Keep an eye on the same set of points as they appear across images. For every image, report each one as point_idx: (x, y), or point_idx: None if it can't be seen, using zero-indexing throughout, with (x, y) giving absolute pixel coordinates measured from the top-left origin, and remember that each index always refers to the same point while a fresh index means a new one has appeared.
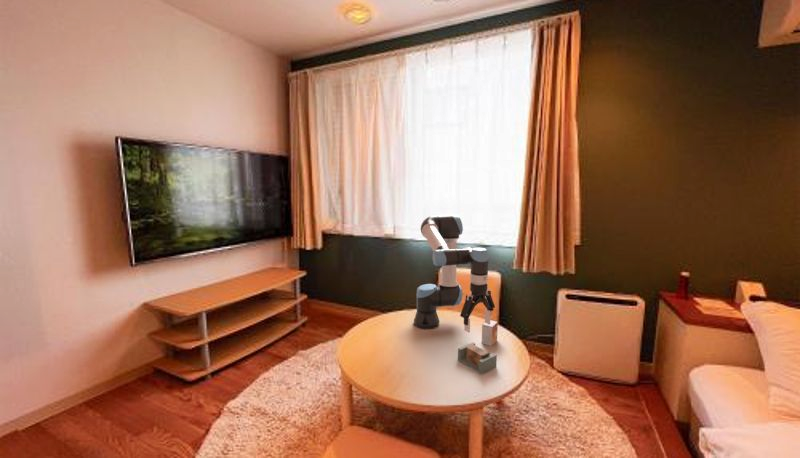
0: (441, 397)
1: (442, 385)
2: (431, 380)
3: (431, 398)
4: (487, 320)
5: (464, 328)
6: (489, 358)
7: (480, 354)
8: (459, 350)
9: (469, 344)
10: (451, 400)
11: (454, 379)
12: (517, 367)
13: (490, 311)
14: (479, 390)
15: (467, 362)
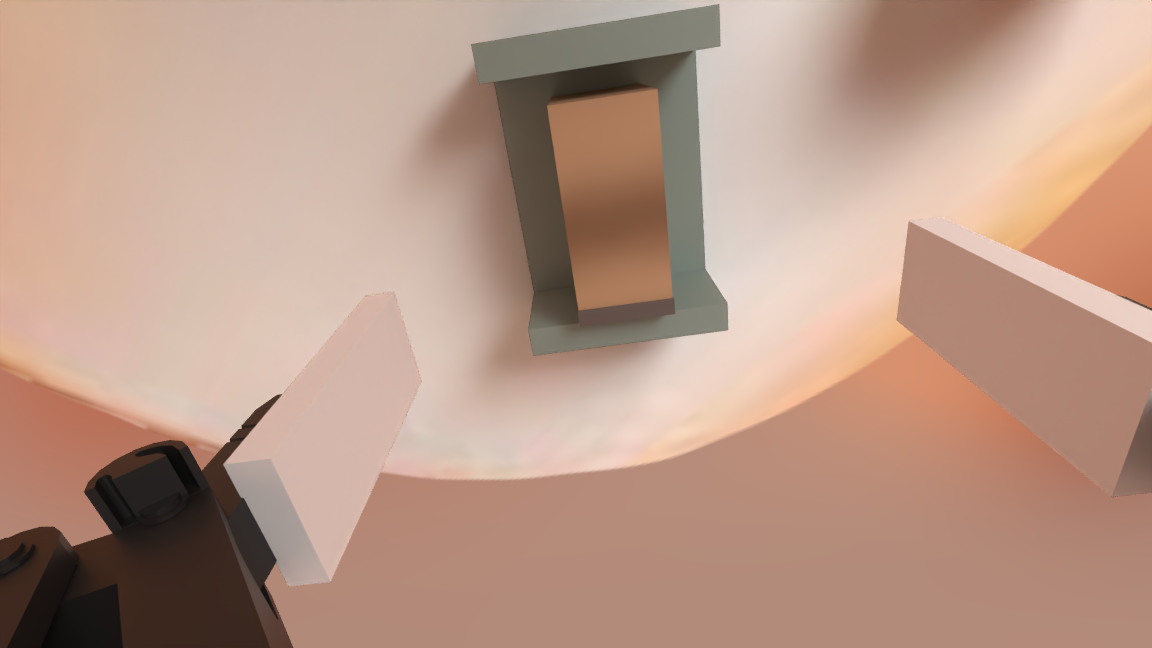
0: (170, 377)
1: (215, 287)
2: (149, 203)
3: (103, 359)
4: (938, 304)
5: (356, 312)
6: (632, 341)
7: (583, 293)
8: (478, 68)
9: (646, 30)
10: (222, 418)
11: (327, 268)
12: (828, 350)
13: (1133, 482)
14: (427, 419)
15: (527, 153)
